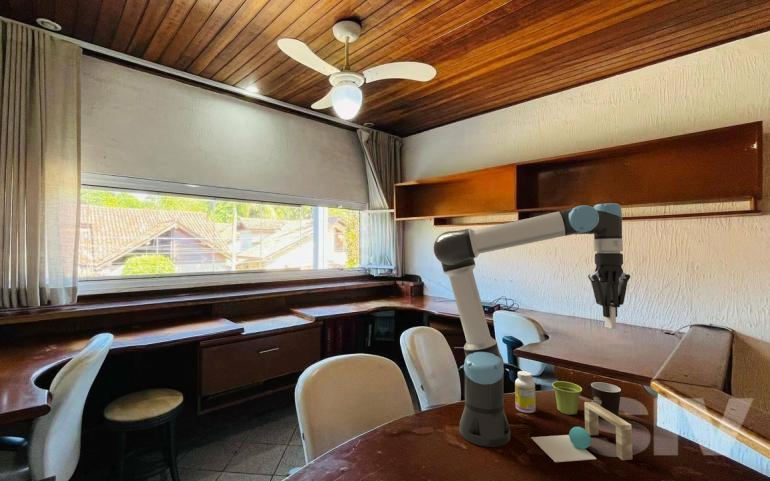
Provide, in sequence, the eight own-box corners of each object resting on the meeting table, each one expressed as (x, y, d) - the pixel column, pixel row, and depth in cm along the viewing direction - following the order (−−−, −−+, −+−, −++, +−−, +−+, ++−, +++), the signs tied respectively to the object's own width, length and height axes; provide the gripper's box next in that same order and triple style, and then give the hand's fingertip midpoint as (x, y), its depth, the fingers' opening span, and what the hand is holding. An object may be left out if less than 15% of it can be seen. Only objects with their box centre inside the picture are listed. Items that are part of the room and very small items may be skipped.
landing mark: (555, 462, 91) (555, 461, 91) (531, 438, 103) (531, 437, 103) (596, 459, 92) (596, 458, 92) (568, 435, 104) (568, 434, 104)
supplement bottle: (517, 403, 126) (516, 368, 127) (536, 407, 123) (535, 371, 123) (513, 411, 121) (513, 374, 121) (534, 415, 117) (533, 377, 118)
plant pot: (583, 409, 122) (582, 384, 122) (582, 420, 114) (581, 393, 114) (554, 403, 127) (553, 379, 127) (551, 413, 119) (550, 388, 119)
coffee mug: (626, 424, 111) (626, 393, 111) (597, 421, 113) (596, 391, 113) (610, 408, 122) (610, 380, 123) (584, 406, 124) (583, 378, 124)
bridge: (622, 460, 92) (621, 425, 92) (585, 432, 106) (584, 402, 107) (632, 459, 92) (631, 424, 92) (594, 431, 107) (593, 401, 107)
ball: (598, 445, 96) (583, 456, 95) (585, 435, 101) (570, 445, 101) (590, 429, 96) (574, 440, 95) (576, 419, 101) (561, 429, 100)
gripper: (598, 252, 103) (600, 330, 103) (637, 252, 105) (639, 329, 104) (581, 252, 111) (583, 325, 110) (618, 252, 112) (620, 324, 111)
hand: (610, 327), depth 107 cm, fingers closed
